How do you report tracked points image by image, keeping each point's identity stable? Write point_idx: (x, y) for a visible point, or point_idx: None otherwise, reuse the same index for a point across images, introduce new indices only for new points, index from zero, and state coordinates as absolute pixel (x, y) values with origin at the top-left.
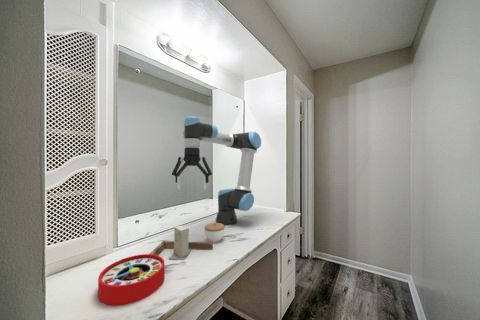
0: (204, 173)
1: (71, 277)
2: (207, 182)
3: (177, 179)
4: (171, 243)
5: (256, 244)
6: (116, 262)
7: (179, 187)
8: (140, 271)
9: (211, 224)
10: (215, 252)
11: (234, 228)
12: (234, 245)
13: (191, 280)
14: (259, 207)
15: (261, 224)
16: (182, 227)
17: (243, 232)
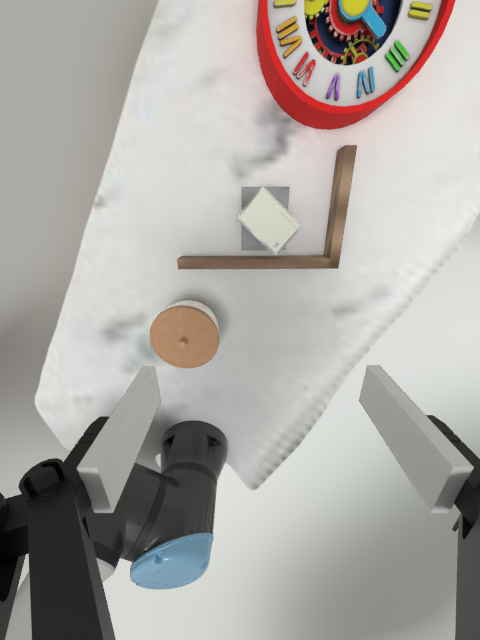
0: (60, 522)
1: None
2: (97, 419)
3: (440, 434)
4: (307, 258)
5: (64, 300)
6: (436, 32)
7: (371, 389)
8: (335, 25)
9: (199, 350)
10: (166, 241)
11: None
12: (125, 289)
13: (181, 65)
14: None
15: None
16: (266, 225)
17: (124, 375)
